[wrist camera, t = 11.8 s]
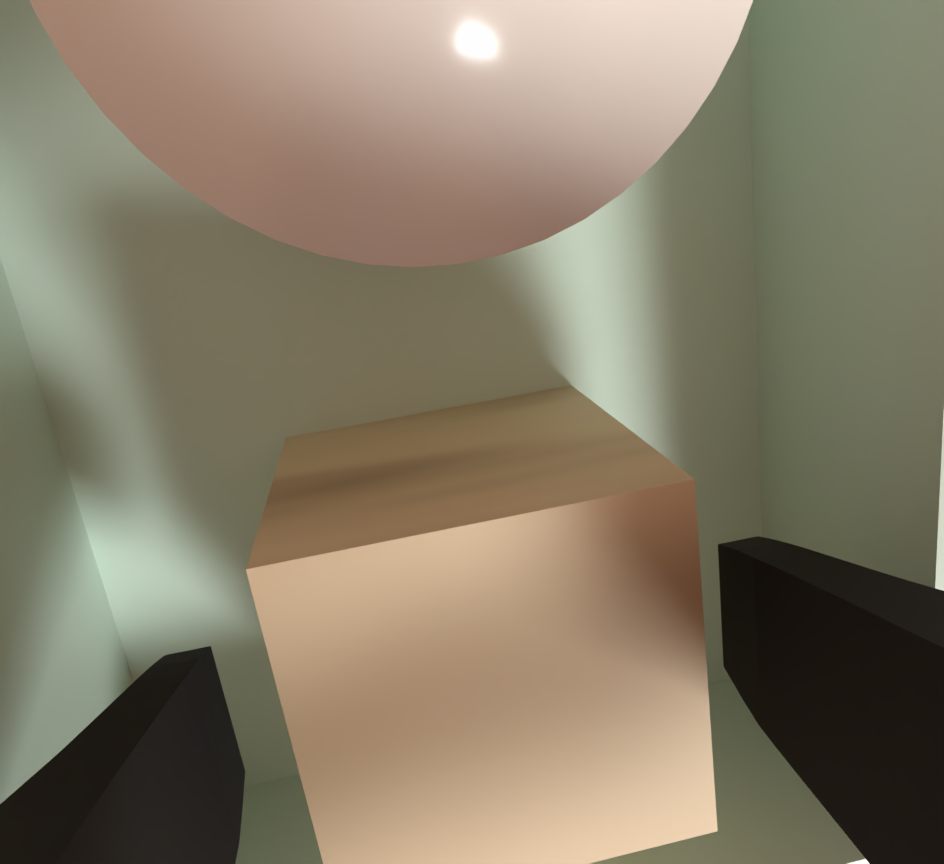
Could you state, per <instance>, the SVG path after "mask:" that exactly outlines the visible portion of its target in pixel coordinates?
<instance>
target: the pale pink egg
mask: <svg viewBox="0 0 944 864" xmlns="http://www.w3.org/2000/svg"><path fill="white" fill-rule="evenodd" d="M30 2H31V5H32V7H33V9H34V11H35V13H36V15H37V17H38V18H39V20H40V22H41V23H42V25H43V27H44V28H45V30H46V32H47V33H48V35H49V37H50V38H51V40H52V42H53V43H54V45H55V47H56V48H57V50H58V52H59V53H60V55H61V57H62V58H63V60H64V62H65V63H66V65H67V67H68V68H69V69H70V70H71V72H72V73H73V74H74V76H75V77H76V78H77V80H78V81H79V82H80V84H81V85H82V86H83V87H84V89H85V90H86V91H87V93H88V94H89V95H90V97H91V98H92V99H93V101H94V102H95V103H96V104H97V106H98V107H99V108H100V110H101V111H102V112H103V114H104V115H105V116H106V117H107V118H108V119H109V120H110V121H111V122H112V123H113V124H114V125H115V126H116V127H117V128H118V129H119V130H120V131H121V132H122V133H123V134H124V135H125V136H126V137H127V138H128V140H129V141H130V142H131V143H132V144H133V145H134V146H135V147H136V148H137V149H138V150H139V151H140V152H141V153H142V154H143V155H144V156H145V157H147V158H148V159H149V160H150V161H151V162H153V163H154V164H155V165H156V166H157V167H159V168H160V169H161V170H162V171H164V172H165V173H166V174H167V175H168V176H170V177H171V178H172V179H173V180H174V181H176V182H177V183H178V184H179V185H181V186H182V187H183V188H184V189H185V190H187V191H189V192H190V193H192V194H193V195H195V196H196V197H198V198H199V199H201V200H203V201H204V202H206V203H207V204H209V205H210V206H212V207H213V208H215V209H217V210H218V211H220V212H221V213H223V214H224V215H226V216H228V217H229V218H231V219H233V220H235V221H237V222H239V223H241V224H243V225H246V226H248V227H250V228H252V229H254V230H256V231H258V232H260V233H262V234H264V235H266V236H268V237H270V238H273V239H275V240H277V241H280V242H283V243H286V244H289V245H292V246H295V247H298V248H301V249H304V250H307V251H310V252H313V253H316V254H319V255H323V256H328V257H333V258H338V259H343V260H348V261H353V262H358V263H364V264H371V265H386V266H402V267H424V266H438V265H452V264H461V263H466V262H471V261H475V260H480V259H485V258H490V257H495V256H499V255H503V254H506V253H509V252H512V251H515V250H518V249H520V248H523V247H526V246H529V245H532V244H534V243H537V242H540V241H543V240H545V239H547V238H549V237H551V236H553V235H555V234H557V233H559V232H561V231H563V230H565V229H567V228H569V227H571V226H573V225H575V224H577V223H578V222H580V221H582V220H584V219H586V218H587V217H589V216H590V215H592V214H593V213H594V212H596V211H597V210H599V209H600V208H602V207H603V206H605V205H606V204H607V203H609V202H610V201H612V200H613V199H615V198H616V197H618V196H619V195H620V194H622V193H623V192H624V191H625V190H626V189H627V188H628V187H630V186H631V185H632V184H633V183H634V182H635V181H636V180H637V179H638V178H640V177H641V176H642V175H643V174H644V173H645V172H646V171H647V170H648V169H650V168H651V167H652V166H653V165H654V164H655V163H656V162H657V161H658V160H659V159H660V157H661V156H662V155H663V154H664V153H665V152H666V151H667V149H668V148H669V147H670V146H671V145H672V144H673V143H674V141H675V140H676V139H677V138H678V137H679V136H680V134H681V133H682V132H683V131H684V130H685V129H686V128H687V126H688V125H689V123H690V122H691V120H692V119H693V117H694V116H695V114H696V113H697V111H698V110H699V108H700V107H701V105H702V104H703V102H704V101H705V100H706V98H707V97H708V95H709V94H710V92H711V91H712V89H713V88H714V86H715V84H716V82H717V80H718V78H719V76H720V74H721V72H722V71H723V69H724V67H725V65H726V63H727V61H728V59H729V57H730V55H731V53H732V51H733V49H734V47H735V46H736V44H737V41H738V39H739V36H740V34H741V31H742V28H743V26H744V23H745V21H746V18H747V15H748V13H749V10H750V8H751V5H752V2H753V0H30Z"/></svg>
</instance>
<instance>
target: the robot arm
mask: <svg viewBox="0 0 944 864" xmlns="http://www.w3.org/2000/svg"><path fill="white" fill-rule="evenodd" d="M718 559H719V581H720V602H721V624H722V645H723V666H724V668H725V670H726V672H727V673H728V675H729V677H730V679H731V680H732V682H733V684H734V685H735V687H736V689H737V691H738V692H739V694H740V696H741V698H742V699H743V701H744V702H745V704H746V706H747V707H748V709H749V710H750V712H751V714H752V715H753V717H754V718H755V720H756V722H757V723H758V725H759V726H760V727H761V729H762V730H763V731H764V733H765V734H766V735H767V737H768V738H769V739H770V740H771V742H772V743H773V744H774V745H775V747H776V748H777V749H778V751H779V752H780V753H781V754H782V756H783V757H784V758H785V759H786V761H787V762H788V763H789V764H790V766H791V767H792V768H793V769H794V771H795V772H796V773H797V774H798V776H799V777H800V778H801V779H802V781H803V782H804V783H805V784H806V786H807V787H808V788H809V789H810V790H811V792H812V793H813V794H814V795H815V797H816V798H817V799H818V800H819V802H820V803H821V804H822V805H823V807H824V808H825V809H826V810H827V812H828V813H829V814H830V815H831V816H832V818H833V819H834V820H835V821H836V823H837V824H838V825H839V826H840V828H841V829H842V830H843V831H844V833H845V834H846V835H847V836H848V838H849V839H850V840H851V841H852V842H853V844H854V845H855V846H856V847H857V849H858V850H859V851H860V852H861V854H862V855H863V856H864V857H865V859H866V860H867V861H868V862H869V864H944V591H943V590H939V589H936V588H932V587H929V586H925V585H922V584H918V583H915V582H912V581H908V580H905V579H902V578H898V577H895V576H892V575H889V574H885V573H882V572H879V571H876V570H873V569H869V568H866V567H863V566H860V565H857V564H854V563H851V562H847V561H844V560H841V559H838V558H835V557H832V556H829V555H825V554H822V553H819V552H816V551H813V550H810V549H806V548H803V547H800V546H796V545H793V544H789V543H786V542H782V541H778V540H774V539H770V538H765V537H759V536H756V537H751V538H746V539H741V540H736V541H731V542H726V543H721V544H718ZM244 781H245V769H244V765H243V761H242V758H241V754H240V750H239V747H238V743H237V740H236V736H235V732H234V729H233V725H232V721H231V718H230V714H229V710H228V707H227V703H226V700H225V696H224V692H223V689H222V685H221V681H220V678H219V674H218V671H217V667H216V663H215V660H214V656H213V652H212V649H211V646H208V647H203V648H198V649H193V650H188V651H183V652H178V653H173V654H168V655H164V656H163V657H162V658H160V659H159V660H158V661H157V662H155V663H154V664H153V665H152V666H151V667H150V668H148V669H147V670H146V671H145V672H144V673H143V674H142V675H141V676H140V677H139V678H137V679H136V680H135V681H134V682H133V683H132V684H131V685H130V686H129V687H128V688H127V689H126V690H125V691H124V692H123V693H122V694H121V695H119V696H118V697H117V698H116V699H115V700H114V701H113V702H112V703H111V704H110V705H109V706H108V707H107V708H106V709H105V710H104V711H103V712H102V713H101V714H100V715H98V716H97V717H96V718H95V719H94V720H93V721H92V722H91V723H90V724H89V725H88V726H87V727H86V728H85V729H84V730H83V731H82V732H80V733H79V734H78V735H77V736H76V737H75V738H74V739H73V740H72V741H71V742H70V743H69V744H68V745H67V746H66V747H65V748H63V749H62V750H61V751H60V752H59V753H58V754H57V755H56V756H55V757H54V758H52V759H51V760H50V761H49V762H48V763H47V764H46V765H44V766H43V767H42V768H41V769H40V770H39V771H38V772H36V773H35V774H34V775H33V776H32V777H31V778H30V779H28V780H27V781H26V782H25V783H24V784H23V785H22V786H20V787H19V788H18V789H17V790H16V791H15V792H14V793H12V794H11V795H10V796H9V797H8V798H7V799H6V800H4V801H3V802H2V803H1V804H0V864H235V863H236V858H237V852H238V847H239V841H240V830H241V820H242V809H243V795H244Z"/></svg>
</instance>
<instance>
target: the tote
mask: <svg viewBox="0 0 944 864" xmlns="http://www.w3.org/2000/svg"><path fill="white" fill-rule="evenodd" d="M571 385H572V386H573V387H575V388H576V389H577V390H578V391H580V392H581V393H582V394H584V395H585V396H586V397H588V398H589V399H590V400H592V401H593V402H594V403H595V404H597V405H598V406H599V407H601V408H602V409H603V410H605V411H606V412H607V413H608V414H610V415H611V416H612V417H614V418H615V419H616V420H618V421H619V422H620V423H622V424H623V425H624V426H625V427H627V428H628V429H629V430H631V431H632V432H633V433H635V434H636V435H637V436H639V437H640V438H641V439H642V440H644V441H645V442H646V443H648V444H649V445H650V446H652V447H653V448H654V449H656V450H657V451H658V452H659V453H661V454H662V455H663V456H665V457H666V458H667V459H669V460H670V461H671V462H673V463H674V464H675V465H676V466H678V467H679V468H680V469H682V470H683V471H684V472H686V473H687V474H688V475H689V476H691V477H692V478H693V479H695V493H696V508H697V523H698V538H699V554H700V569H701V584H702V600H703V615H704V630H705V646H706V661H707V676H708V692H709V707H710V722H711V738H712V753H713V768H714V784H715V799H716V814H717V830H718V831H717V832H713V833H709V834H705V835H701V836H697V837H693V838H689V839H685V840H681V841H677V842H673V843H669V844H665V845H661V846H657V847H653V848H649V849H645V850H641V851H637V852H633V853H629V854H625V855H621V856H617V857H613V858H609V859H605V860H601V861H597V862H593V863H590V864H869V862H868V861H867V860H866V859H865V857H864V856H863V855H862V854H861V852H860V851H859V850H858V849H857V847H856V846H855V845H854V844H853V842H852V841H851V840H850V839H849V838H848V836H847V835H846V834H845V833H844V831H843V830H842V829H841V828H840V826H839V825H838V824H837V823H836V821H835V820H834V819H833V818H832V816H831V815H830V814H829V813H828V812H827V810H826V809H825V808H824V807H823V805H822V804H821V803H820V802H819V800H818V799H817V798H816V797H815V795H814V794H813V793H812V792H811V790H810V789H809V788H808V787H807V786H806V784H805V783H804V782H803V781H802V779H801V778H800V777H799V776H798V774H797V773H796V772H795V771H794V769H793V768H792V767H791V766H790V764H789V763H788V762H787V761H786V759H785V758H784V757H783V756H782V754H781V753H780V752H779V751H778V749H777V748H776V747H775V745H774V744H773V743H772V742H771V740H770V739H769V738H768V737H767V735H766V734H765V733H764V731H763V730H762V729H761V727H760V726H759V725H758V723H757V722H756V720H755V718H754V717H753V715H752V714H751V712H750V710H749V709H748V707H747V706H746V704H745V702H744V701H743V699H742V698H741V696H740V694H739V692H738V691H737V689H736V687H735V685H734V684H733V682H732V680H731V679H730V677H729V675H728V673H727V672H726V670H725V668H724V666H723V645H722V624H721V602H720V581H719V559H718V544H721V543H726V542H731V541H736V540H741V539H746V538H751V537H756V536H759V537H765V538H770V539H774V540H778V541H782V542H786V543H789V544H793V545H796V546H800V547H803V548H806V549H810V550H813V551H816V552H819V553H822V554H825V555H829V556H832V557H835V558H838V559H841V560H844V561H847V562H851V563H854V564H857V565H860V566H863V567H866V568H869V569H873V570H876V571H879V572H882V573H885V574H889V575H892V576H895V577H898V578H902V579H905V580H908V581H912V582H915V583H918V584H922V585H925V586H929V587H932V588H936V589H939V590H943V591H944V0H753V2H752V5H751V8H750V10H749V13H748V15H747V18H746V21H745V23H744V26H743V28H742V31H741V34H740V36H739V39H738V41H737V44H736V46H735V47H734V49H733V51H732V53H731V55H730V57H729V59H728V61H727V63H726V65H725V67H724V69H723V71H722V72H721V74H720V76H719V78H718V80H717V82H716V84H715V86H714V88H713V89H712V91H711V92H710V94H709V95H708V97H707V98H706V100H705V101H704V102H703V104H702V105H701V107H700V108H699V110H698V111H697V113H696V114H695V116H694V117H693V119H692V120H691V122H690V123H689V125H688V126H687V128H686V129H685V130H684V131H683V132H682V133H681V134H680V136H679V137H678V138H677V139H676V140H675V141H674V143H673V144H672V145H671V146H670V147H669V148H668V149H667V151H666V152H665V153H664V154H663V155H662V156H661V157H660V159H659V160H658V161H657V162H656V163H655V164H654V165H653V166H652V167H651V168H650V169H648V170H647V171H646V172H645V173H644V174H643V175H642V176H641V177H640V178H638V179H637V180H636V181H635V182H634V183H633V184H632V185H631V186H630V187H628V188H627V189H626V190H625V191H624V192H623V193H622V194H620V195H619V196H618V197H616V198H615V199H613V200H612V201H610V202H609V203H607V204H606V205H605V206H603V207H602V208H600V209H599V210H597V211H596V212H594V213H593V214H592V215H590V216H589V217H587V218H586V219H584V220H582V221H580V222H578V223H577V224H575V225H573V226H571V227H569V228H567V229H565V230H563V231H561V232H559V233H557V234H555V235H553V236H551V237H549V238H547V239H545V240H543V241H540V242H537V243H534V244H532V245H529V246H526V247H523V248H520V249H518V250H515V251H512V252H509V253H506V254H503V255H499V256H495V257H490V258H485V259H480V260H475V261H471V262H466V263H461V264H452V265H438V266H424V267H402V266H386V265H371V264H364V263H358V262H353V261H348V260H343V259H338V258H333V257H328V256H323V255H319V254H316V253H313V252H310V251H307V250H304V249H301V248H298V247H295V246H292V245H289V244H286V243H283V242H280V241H277V240H275V239H273V238H270V237H268V236H266V235H264V234H262V233H260V232H258V231H256V230H254V229H252V228H250V227H248V226H246V225H243V224H241V223H239V222H237V221H235V220H233V219H231V218H229V217H228V216H226V215H224V214H223V213H221V212H220V211H218V210H217V209H215V208H213V207H212V206H210V205H209V204H207V203H206V202H204V201H203V200H201V199H199V198H198V197H196V196H195V195H193V194H192V193H190V192H189V191H187V190H185V189H184V188H183V187H182V186H181V185H179V184H178V183H177V182H176V181H174V180H173V179H172V178H171V177H170V176H168V175H167V174H166V173H165V172H164V171H162V170H161V169H160V168H159V167H157V166H156V165H155V164H154V163H153V162H151V161H150V160H149V159H148V158H147V157H145V156H144V155H143V154H142V153H141V152H140V151H139V150H138V149H137V148H136V147H135V146H134V145H133V144H132V143H131V142H130V141H129V140H128V138H127V137H126V136H125V135H124V134H123V133H122V132H121V131H120V130H119V129H118V128H117V127H116V126H115V125H114V124H113V123H112V122H111V121H110V120H109V119H108V118H107V117H106V116H105V115H104V114H103V112H102V111H101V110H100V108H99V107H98V106H97V104H96V103H95V102H94V101H93V99H92V98H91V97H90V95H89V94H88V93H87V91H86V90H85V89H84V87H83V86H82V85H81V84H80V82H79V81H78V80H77V78H76V77H75V76H74V74H73V73H72V72H71V70H70V69H69V68H68V67H67V65H66V63H65V62H64V60H63V58H62V57H61V55H60V53H59V52H58V50H57V48H56V47H55V45H54V43H53V42H52V40H51V38H50V37H49V35H48V33H47V32H46V30H45V28H44V27H43V25H42V23H41V22H40V20H39V18H38V17H37V15H36V13H35V11H34V9H33V7H32V5H31V2H30V0H0V804H1V803H2V802H3V801H4V800H6V799H7V798H8V797H9V796H10V795H11V794H12V793H14V792H15V791H16V790H17V789H18V788H19V787H20V786H22V785H23V784H24V783H25V782H26V781H27V780H28V779H30V778H31V777H32V776H33V775H34V774H35V773H36V772H38V771H39V770H40V769H41V768H42V767H43V766H44V765H46V764H47V763H48V762H49V761H50V760H51V759H52V758H54V757H55V756H56V755H57V754H58V753H59V752H60V751H61V750H62V749H63V748H65V747H66V746H67V745H68V744H69V743H70V742H71V741H72V740H73V739H74V738H75V737H76V736H77V735H78V734H79V733H80V732H82V731H83V730H84V729H85V728H86V727H87V726H88V725H89V724H90V723H91V722H92V721H93V720H94V719H95V718H96V717H97V716H98V715H100V714H101V713H102V712H103V711H104V710H105V709H106V708H107V707H108V706H109V705H110V704H111V703H112V702H113V701H114V700H115V699H116V698H117V697H118V696H119V695H121V694H122V693H123V692H124V691H125V690H126V689H127V688H128V687H129V686H130V685H131V684H132V683H133V682H134V681H135V680H136V679H137V678H139V677H140V676H141V675H142V674H143V673H144V672H145V671H146V670H147V669H148V668H150V667H151V666H152V665H153V664H154V663H155V662H157V661H158V660H159V659H160V658H162V657H163V656H164V655H168V654H173V653H178V652H183V651H188V650H193V649H198V648H203V647H208V646H211V649H212V652H213V656H214V660H215V663H216V667H217V671H218V674H219V678H220V681H221V685H222V689H223V692H224V696H225V700H226V703H227V707H228V710H229V714H230V718H231V721H232V725H233V729H234V732H235V736H236V740H237V743H238V747H239V750H240V754H241V758H242V761H243V765H244V769H245V781H244V795H243V809H242V820H241V830H240V841H239V847H238V852H237V858H236V863H235V864H323V861H322V858H321V854H320V850H319V846H318V842H317V839H316V835H315V831H314V827H313V823H312V820H311V816H310V812H309V808H308V804H307V801H306V797H305V793H304V789H303V785H302V782H301V778H300V774H299V770H298V766H297V763H296V759H295V755H294V751H293V747H292V743H291V740H290V736H289V732H288V728H287V724H286V721H285V717H284V713H283V709H282V705H281V702H280V698H279V694H278V690H277V686H276V683H275V679H274V675H273V671H272V667H271V664H270V660H269V656H268V652H267V648H266V645H265V641H264V637H263V633H262V629H261V626H260V622H259V618H258V614H257V610H256V607H255V603H254V599H253V595H252V591H251V588H250V584H249V580H248V576H247V572H246V567H247V564H248V560H249V557H250V554H251V550H252V547H253V544H254V541H255V537H256V534H257V531H258V528H259V524H260V521H261V518H262V515H263V511H264V508H265V505H266V501H267V498H268V495H269V492H270V488H271V485H272V482H273V479H274V475H275V472H276V469H277V466H278V462H279V459H280V456H281V452H282V449H283V446H284V443H285V439H286V438H288V437H293V436H299V435H304V434H310V433H315V432H320V431H326V430H331V429H337V428H342V427H348V426H353V425H359V424H364V423H369V422H375V421H380V420H386V419H391V418H397V417H402V416H408V415H413V414H418V413H424V412H429V411H435V410H440V409H446V408H451V407H457V406H462V405H467V404H473V403H478V402H484V401H489V400H495V399H500V398H506V397H511V396H516V395H522V394H527V393H533V392H538V391H544V390H549V389H555V388H560V387H565V386H571Z"/></svg>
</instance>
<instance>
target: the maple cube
mask: <svg viewBox="0 0 944 864" xmlns="http://www.w3.org/2000/svg"><path fill="white" fill-rule="evenodd" d="M246 572H247V576H248V580H249V584H250V588H251V591H252V595H253V599H254V603H255V607H256V610H257V614H258V618H259V622H260V626H261V629H262V633H263V637H264V641H265V645H266V648H267V652H268V656H269V660H270V664H271V667H272V671H273V675H274V679H275V683H276V686H277V690H278V694H279V698H280V702H281V705H282V709H283V713H284V717H285V721H286V724H287V728H288V732H289V736H290V740H291V743H292V747H293V751H294V755H295V759H296V763H297V766H298V770H299V774H300V778H301V782H302V785H303V789H304V793H305V797H306V801H307V804H308V808H309V812H310V816H311V820H312V823H313V827H314V831H315V835H316V839H317V842H318V846H319V850H320V854H321V858H322V861H323V864H590V863H593V862H597V861H601V860H605V859H609V858H613V857H617V856H621V855H625V854H629V853H633V852H637V851H641V850H645V849H649V848H653V847H657V846H661V845H665V844H669V843H673V842H677V841H681V840H685V839H689V838H693V837H697V836H701V835H705V834H709V833H713V832H717V831H718V830H717V814H716V799H715V784H714V768H713V753H712V738H711V722H710V707H709V692H708V676H707V661H706V646H705V630H704V615H703V600H702V584H701V569H700V554H699V538H698V523H697V508H696V493H695V479H693V478H692V477H691V476H689V475H688V474H687V473H686V472H684V471H683V470H682V469H680V468H679V467H678V466H676V465H675V464H674V463H673V462H671V461H670V460H669V459H667V458H666V457H665V456H663V455H662V454H661V453H659V452H658V451H657V450H656V449H654V448H653V447H652V446H650V445H649V444H648V443H646V442H645V441H644V440H642V439H641V438H640V437H639V436H637V435H636V434H635V433H633V432H632V431H631V430H629V429H628V428H627V427H625V426H624V425H623V424H622V423H620V422H619V421H618V420H616V419H615V418H614V417H612V416H611V415H610V414H608V413H607V412H606V411H605V410H603V409H602V408H601V407H599V406H598V405H597V404H595V403H594V402H593V401H592V400H590V399H589V398H588V397H586V396H585V395H584V394H582V393H581V392H580V391H578V390H577V389H576V388H575V387H573V386H572V385H571V386H565V387H560V388H555V389H549V390H544V391H538V392H533V393H527V394H522V395H516V396H511V397H506V398H500V399H495V400H489V401H484V402H478V403H473V404H467V405H462V406H457V407H451V408H446V409H440V410H435V411H429V412H424V413H418V414H413V415H408V416H402V417H397V418H391V419H386V420H380V421H375V422H369V423H364V424H359V425H353V426H348V427H342V428H337V429H331V430H326V431H320V432H315V433H310V434H304V435H299V436H293V437H288V438H286V439H285V443H284V446H283V449H282V452H281V456H280V459H279V462H278V466H277V469H276V472H275V475H274V479H273V482H272V485H271V488H270V492H269V495H268V498H267V501H266V505H265V508H264V511H263V515H262V518H261V521H260V524H259V528H258V531H257V534H256V537H255V541H254V544H253V547H252V550H251V554H250V557H249V560H248V564H247V567H246Z"/></svg>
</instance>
